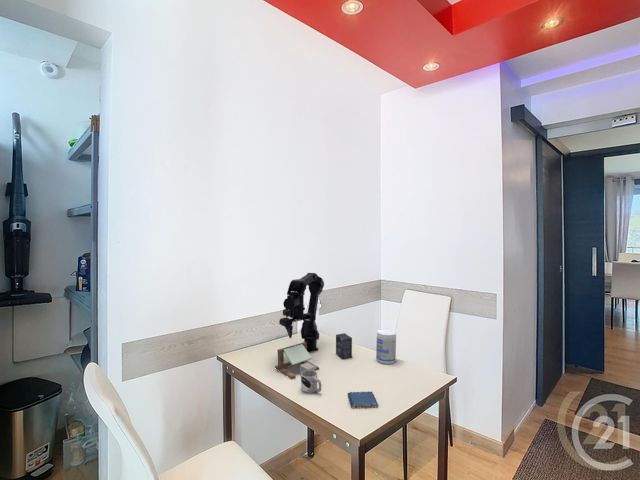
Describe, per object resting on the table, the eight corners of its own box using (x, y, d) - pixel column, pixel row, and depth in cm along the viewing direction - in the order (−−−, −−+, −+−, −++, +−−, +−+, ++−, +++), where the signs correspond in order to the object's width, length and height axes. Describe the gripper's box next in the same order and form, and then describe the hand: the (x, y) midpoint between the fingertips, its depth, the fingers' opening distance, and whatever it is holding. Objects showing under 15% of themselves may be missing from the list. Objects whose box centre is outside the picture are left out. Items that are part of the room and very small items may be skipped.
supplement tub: (374, 363, 163) (374, 333, 162) (378, 355, 172) (378, 328, 171) (394, 366, 159) (394, 335, 159) (397, 358, 168) (397, 330, 168)
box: (335, 354, 174) (335, 334, 174) (345, 352, 177) (345, 332, 176) (342, 359, 167) (342, 339, 167) (352, 357, 169) (352, 337, 169)
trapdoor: (282, 350, 155) (283, 349, 155) (301, 345, 162) (302, 344, 162) (292, 365, 149) (292, 364, 149) (311, 359, 156) (312, 357, 156)
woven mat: (379, 409, 123) (379, 404, 123) (351, 410, 122) (351, 405, 122) (373, 395, 133) (373, 390, 133) (347, 396, 132) (347, 391, 132)
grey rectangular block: (307, 362, 153) (315, 366, 149) (307, 372, 153) (315, 376, 149) (299, 365, 150) (307, 369, 146) (299, 374, 151) (307, 379, 146)
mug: (297, 389, 137) (297, 373, 137) (309, 383, 142) (309, 368, 141) (315, 398, 130) (315, 381, 130) (326, 391, 135) (326, 375, 135)
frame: (275, 368, 157) (274, 347, 156) (301, 360, 166) (301, 340, 166) (291, 379, 146) (291, 357, 145) (319, 369, 156) (319, 348, 155)
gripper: (303, 299, 177) (303, 328, 177) (273, 305, 165) (273, 336, 165) (316, 303, 168) (316, 333, 169) (285, 309, 156) (285, 342, 157)
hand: (298, 336), depth 165 cm, fingers open, 9 cm apart
